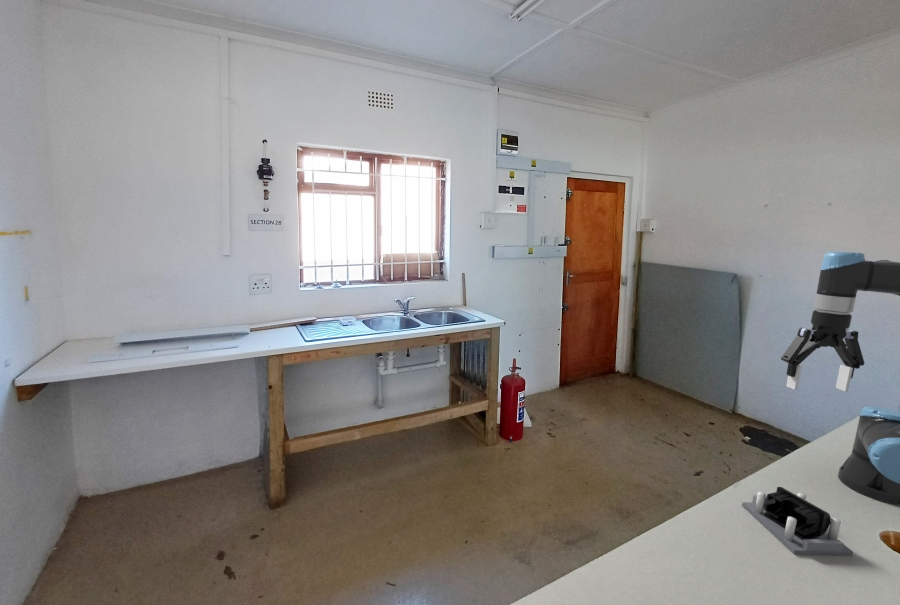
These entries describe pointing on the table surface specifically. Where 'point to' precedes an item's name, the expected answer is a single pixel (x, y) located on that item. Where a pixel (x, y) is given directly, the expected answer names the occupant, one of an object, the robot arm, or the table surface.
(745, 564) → the table surface
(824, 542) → the tray
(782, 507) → the end cap
